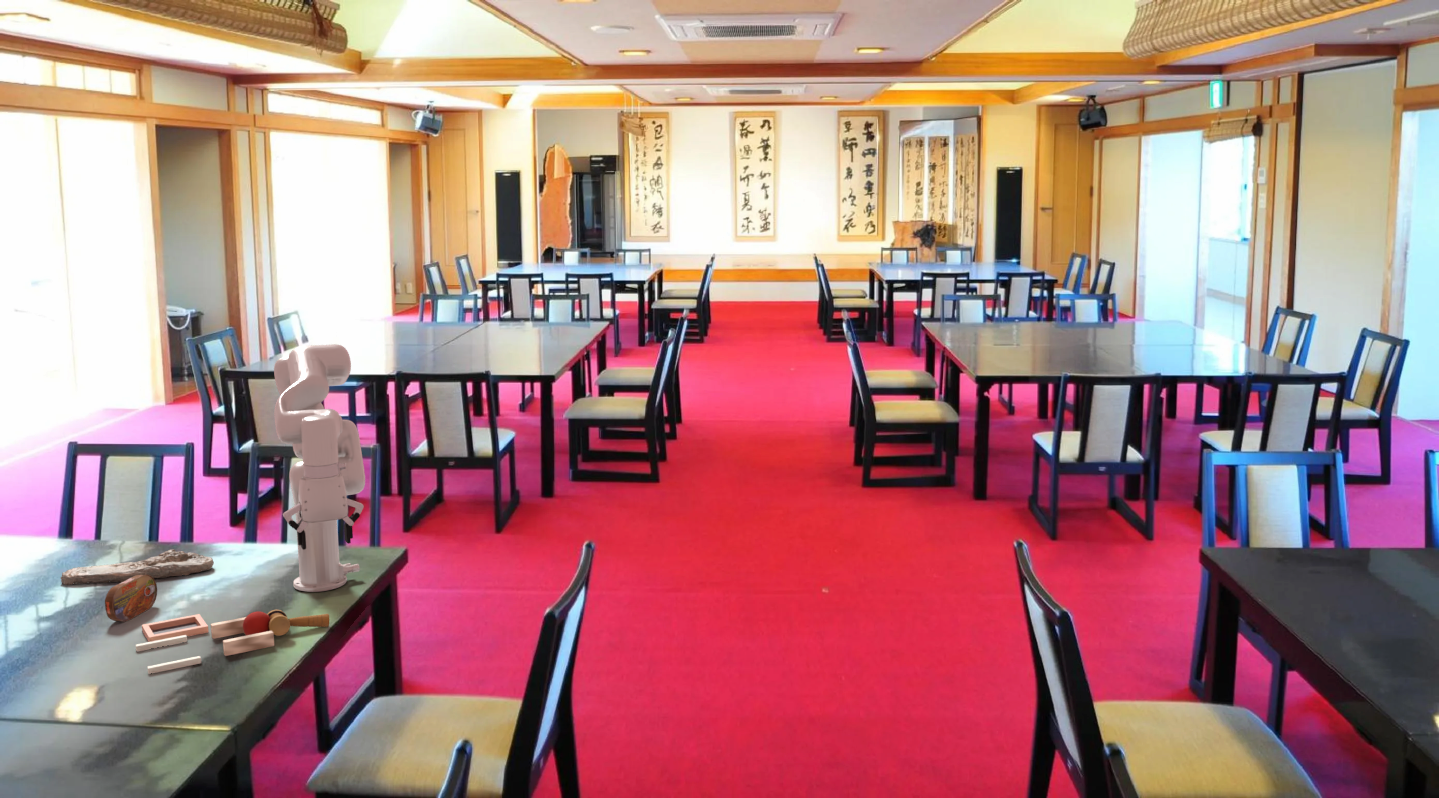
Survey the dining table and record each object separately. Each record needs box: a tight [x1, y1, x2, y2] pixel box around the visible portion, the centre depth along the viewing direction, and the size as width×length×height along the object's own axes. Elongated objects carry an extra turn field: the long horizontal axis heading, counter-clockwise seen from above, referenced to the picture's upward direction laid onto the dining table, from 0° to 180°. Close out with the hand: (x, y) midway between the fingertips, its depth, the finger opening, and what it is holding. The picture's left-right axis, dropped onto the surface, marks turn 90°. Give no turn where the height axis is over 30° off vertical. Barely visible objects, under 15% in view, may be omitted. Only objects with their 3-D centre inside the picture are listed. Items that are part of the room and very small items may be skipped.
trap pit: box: [141, 613, 209, 642], centre depth 266 cm, size 12×9×2 cm
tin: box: [104, 575, 158, 623], centre depth 276 cm, size 15×3×8 cm, turn 168°
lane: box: [210, 616, 275, 657], centre depth 261 cm, size 10×13×3 cm
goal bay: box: [135, 635, 202, 675], centre depth 253 cm, size 10×15×1 cm, turn 34°
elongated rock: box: [60, 548, 215, 586], centre depth 303 cm, size 35×5×10 cm
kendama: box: [243, 609, 331, 637], centre depth 266 cm, size 8×6×18 cm
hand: (325, 544), depth 270 cm, fingers open, 9 cm apart
